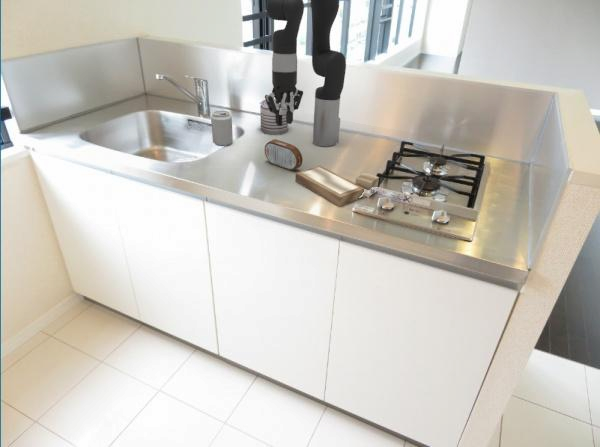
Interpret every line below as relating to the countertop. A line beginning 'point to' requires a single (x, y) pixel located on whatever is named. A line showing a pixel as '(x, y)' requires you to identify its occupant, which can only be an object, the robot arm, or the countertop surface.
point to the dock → (329, 185)
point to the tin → (283, 154)
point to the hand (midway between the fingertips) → (284, 124)
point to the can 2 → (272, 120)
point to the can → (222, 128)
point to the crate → (367, 181)
